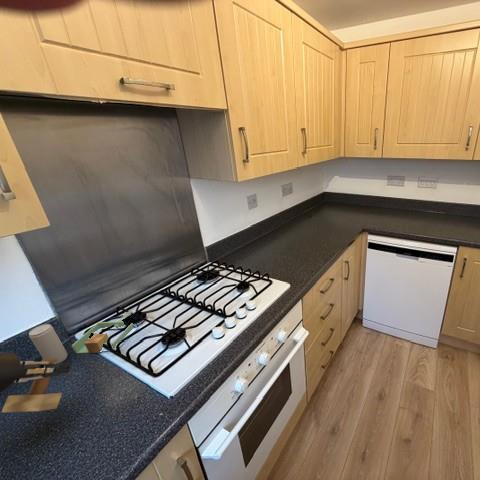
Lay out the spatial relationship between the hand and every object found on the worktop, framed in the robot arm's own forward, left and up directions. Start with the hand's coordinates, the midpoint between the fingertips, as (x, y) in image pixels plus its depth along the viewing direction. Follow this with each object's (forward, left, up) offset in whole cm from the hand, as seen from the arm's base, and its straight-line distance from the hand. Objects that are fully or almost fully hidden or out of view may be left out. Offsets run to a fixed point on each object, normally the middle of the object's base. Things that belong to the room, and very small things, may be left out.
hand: (62, 367), depth 63 cm
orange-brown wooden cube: (-8, +15, -8) cm, 19 cm away
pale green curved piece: (-8, +24, -10) cm, 27 cm away
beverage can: (-18, +12, -11) cm, 24 cm away
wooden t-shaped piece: (0, -9, -2) cm, 9 cm away
